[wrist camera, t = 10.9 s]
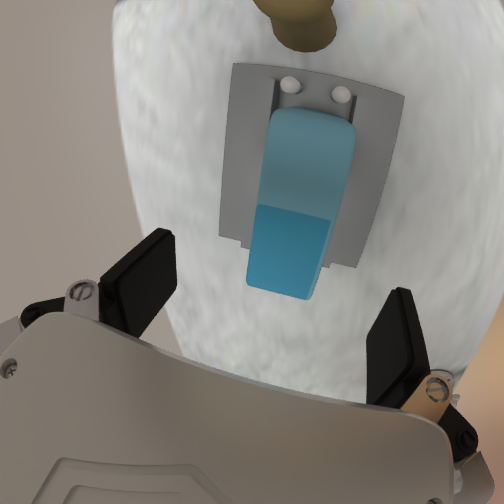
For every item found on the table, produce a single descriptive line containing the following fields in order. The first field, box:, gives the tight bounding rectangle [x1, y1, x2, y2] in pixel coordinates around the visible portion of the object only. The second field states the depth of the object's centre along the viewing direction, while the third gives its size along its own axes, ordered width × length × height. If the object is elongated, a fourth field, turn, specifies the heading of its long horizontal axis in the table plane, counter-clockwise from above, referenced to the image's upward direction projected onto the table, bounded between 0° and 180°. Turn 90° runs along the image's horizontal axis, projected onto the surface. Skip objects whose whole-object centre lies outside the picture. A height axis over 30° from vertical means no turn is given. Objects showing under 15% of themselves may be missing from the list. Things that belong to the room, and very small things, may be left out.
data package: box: [246, 107, 356, 300], centre depth 20 cm, size 12×4×12 cm, turn 173°
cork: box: [253, 0, 337, 52], centre depth 13 cm, size 6×6×11 cm
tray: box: [219, 63, 405, 268], centre depth 24 cm, size 16×19×5 cm
